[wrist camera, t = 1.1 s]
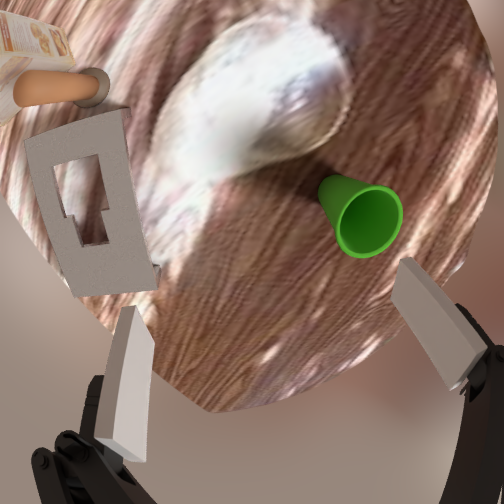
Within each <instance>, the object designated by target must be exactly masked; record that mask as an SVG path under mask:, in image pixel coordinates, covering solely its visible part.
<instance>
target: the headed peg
mask: <svg viewBox="0 0 504 504" xmlns="http://www.w3.org/2000/svg"><path fill="white" fill-rule="evenodd" d="M109 89H110V79H109V77H108V75H107V73H106V72H104V71H103V70H101V69H97V68H88V69H85V70H83V71H81V72H80V73H79V74H77V73H68V72H58V71H45V70H27V71H25V72H23V73H22V74H21V75H20V76H19V77H18V79H17V80H16V82H15V85H14V88H13V99H14V102H15V103H16V105H17V106H19V107H30V106H36V105H43V104H50V103H58V102H67V101H73V102H74V103H75V104H76V105H78V106H80V107H84V108H86V107H93V106H96V105H98V104H99V103H101V102H102V101H103V100H104V99H105V98H106V96H107V94H108V92H109Z"/></svg>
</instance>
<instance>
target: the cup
mask: <svg viewBox="0 0 504 504" xmlns="http://www.w3.org/2000/svg"><path fill="white" fill-rule="evenodd" d="M318 199H319V201H320V203H321V205H322V207H323V209H324V211H325V213H326V215H327V217H328V219H329V221H330V223H331V225H332V227H333V229H334V231H335V237H336V240H337V244H338V245H339V247H340V248H341V250H342V251H344V252H345V253H346V254H347V255H350V256H352V257H356V258H367V257H371V256H374V255H377V254H378V253H380V252H382V251H383V250H385V249H386V248H387V247H388V246H389V245H390V244H391V243H392V241H393V240H394V239H395V238H396V236H397V234H398V232H399V230H400V227H401V223H402V217H403V211H402V205H401V202H400V200H399V197H398V196H397V195H396V193H395V192H394V191H393V190H391V189H390V188H389V187H386V186H383V185H371V184H368V183H365V182H362V181H359V180H355V179H352V178H349V177H345V176H342V175H331V176H329V177H327V178H325V179H324V180H323V181H322V182H321V184H320V186H319V189H318Z"/></svg>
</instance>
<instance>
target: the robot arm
mask: <svg viewBox="0 0 504 504" xmlns="http://www.w3.org/2000/svg"><path fill="white" fill-rule="evenodd" d="M390 300H391V301H392V302H393V304H394V305H395V307H396V308H397V309H398V311H399V312H400V314H401V315H402V317H403V318H404V319H405V321H406V322H407V324H408V325H409V327H410V328H411V330H412V331H413V333H414V334H415V336H416V337H417V339H418V340H419V342H420V343H421V345H422V346H423V348H424V350H425V351H426V353H427V354H428V356H429V357H430V359H431V361H432V362H433V364H434V365H435V367H436V369H437V370H438V372H439V374H440V375H441V377H442V378H443V380H444V382H445V384H446V385H447V387H448V389H449V390H452V389H454V388H455V387H457V386H459V385H461V383H462V382H463V381H464V380H465V378H466V377H467V378H468V380H469V381H468V382H467V384H466V385H465V386H464V387H463V389H462V390H461V391H460V395H461V394H462V393H463V392H464V391H465V390H466V393H465V394H464V396H465V403H464V410H463V416H462V421H461V427H460V432H459V437H458V442H457V446H456V450H455V455H454V459H453V462H452V466H451V469H450V473H449V476H448V479H447V482H446V485H445V488H444V491H443V494H442V497H441V500H440V502H439V504H497V503H498V499H499V495H500V491H501V488H502V498H501V504H504V346H502V345H495V344H494V343H493V342H492V341H491V339H490V338H489V337H488V336H487V334H486V333H485V332H484V330H483V329H482V328H481V326H480V325H479V324H477V322H476V320H475V319H474V318H472V315H471V314H470V313H469V312H468V310H467V309H465V308H464V307H463V306H461V305H460V304H458V303H457V304H454V303H453V302H452V301H451V300H450V299H449V298H448V296H447V295H446V294H445V293H444V292H443V291H442V289H441V288H440V287H439V286H438V285H437V284H436V283H435V282H434V281H433V279H432V278H431V277H430V276H429V275H428V274H427V273H426V272H425V271H424V270H423V269H422V268H421V266H420V265H419V264H418V263H417V262H416V261H415V260H414V259H413V258H412V257H408V258H404V259H400V262H399V266H398V271H397V275H396V279H395V283H394V287H393V291H392V295H391V298H390ZM154 345H155V343H154V341H153V339H152V337H151V335H150V333H149V331H148V329H147V327H146V325H145V323H144V321H143V319H142V317H141V315H140V313H139V311H138V308H137V306H136V305H135V306H127V307H122V308H121V311H120V315H119V318H118V322H117V326H116V329H115V333H114V337H113V341H112V345H111V349H110V353H109V357H108V362H107V366H106V371H105V375H95V376H94V378H93V379H92V381H91V382H90V384H89V386H88V391H87V398H86V400H85V406H84V410H83V415H82V420H81V426H80V432H79V434H77V433H76V432H74V431H72V430H66V431H64V432H61V433H60V435H58V436H57V438H56V441H55V452H51V451H50V450H48V449H46V448H43V447H42V448H38V449H36V450H35V451H34V453H33V455H32V458H31V464H32V469H33V473H34V477H35V481H36V485H37V489H38V493H39V496H40V499H41V503H42V504H157V503H156V502H155V501H154V500H153V499H152V498H151V497H150V495H149V494H148V493H147V492H146V491H145V490H144V489H143V487H142V486H141V485H140V484H139V483H138V482H137V480H136V479H135V478H134V477H133V475H132V474H131V473H130V472H129V470H128V469H127V468H126V466H124V465H123V458H125V459H126V460H128V461H133V462H146V445H147V422H148V406H149V393H150V381H151V371H152V362H153V353H154Z"/></svg>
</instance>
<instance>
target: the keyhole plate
mask: <svg viewBox="0 0 504 504" xmlns="http://www.w3.org/2000/svg"><path fill="white" fill-rule="evenodd" d="M128 117H132V116H131V108H124V109H118V110H114V111H110V112H106V113H103V114H99V115H95V116H92V117H88V118H85V119H82V120H78V121H75V122H72V123H69V124H66V125H63V126H60V127H57V128H54V129H52V130H49V131H46V132H43V133H41V134H38V135H36V136H33V137H31V138H28V139H26V140H24V145H25V150H26V155H27V160H28V165H29V170H30V174H31V178H32V182H33V186H34V190H35V194H36V197H37V201H38V204H39V208H40V211H41V214H42V218H43V221H44V224H45V227H46V230H47V233H48V235H49V238H50V241H51V244H52V246H53V249H54V252H55V254H56V257H57V259H58V262H59V264H60V267H61V269H62V272H63V274H64V276H65V279H66V281H67V283H68V285H69V287H70V290H71V292H72V294H73V296H74V297H86V296H98V295H109V294H120V293H131V292H141V291H151V290H158V287H159V282H160V277H161V268H160V265H157V266H153V264H152V261H151V257H150V253H149V249H148V245H147V241H146V237H145V233H144V229H143V225H142V220H141V216H140V211H139V207H138V202H137V197H136V192H135V187H134V182H133V176H132V171H131V165H130V159H129V153H128V147H127V140H126V133H125V126H124V119H125V118H128ZM95 154H98V157H99V162H100V168H101V173H102V177H103V182H104V187H105V191H106V196H107V200H108V204H109V208H104V209H102V210H101V215H102V218H103V222H104V226H105V229H106V233H107V236H108V239H109V241H105V242H99V243H92V244H86V245H84V244H83V241H82V238H81V235H80V232H79V229H78V226H77V223H76V219H75V216H74V215H69V216H66V213H65V210H64V207H63V203H62V199H61V196H60V192H59V188H58V184H57V180H56V175H55V171H54V166H55V165H58V164H62V163H65V162H69V161H72V160H76V159H79V158H83V157H87V156H91V155H95Z"/></svg>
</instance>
